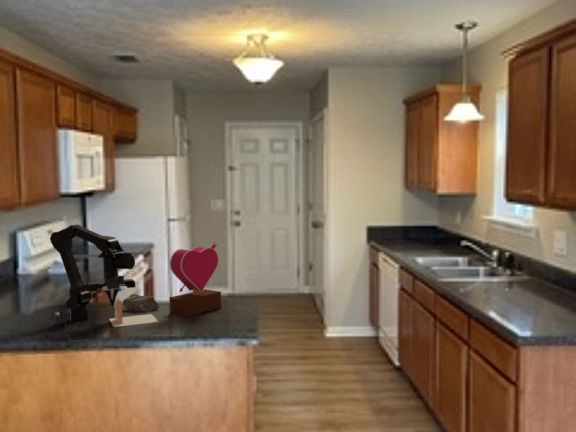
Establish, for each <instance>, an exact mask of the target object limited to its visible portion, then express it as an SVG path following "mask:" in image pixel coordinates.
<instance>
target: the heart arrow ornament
mask: <svg viewBox="0 0 576 432" xmlns="http://www.w3.org/2000/svg"><path fill="white" fill-rule="evenodd" d="M217 246H218V244H216V242H213V244H212V245H211V247H204V246H203V247H202V246H195V247H193V248H191V249H190V250H189V249H182V248H179V249H176V250H175V251H173V253H172V255H171V257H170V259H169V267H170V271H171V272H172V274H173V276H175V277H176V278H177V279H178V281H180V282H181V283H182V284H183V286H182V287H180V289H179V294H178V295H174V296H169V297H168V299H169V314H170V315H171V316H177V317H182V318H188V317H192V316H193V317H194V316H196V314H197V315H200V314H199V313H201V314H203V313H202V312H205V313H207V312H206V311H208V312H211V311H210V310H212V311H214V310H213V309H216V310H219V309H218V308H220V309H222V308H223V307H222V295H221V294H222V292H221V291H218V290H212V289H208V288H207V289H205V288H206V286H207V284H208V283H209V281H210V280H211V278H212V276H213V275H214V273H215V272H216V270H217V267H218V265H219V256H218V255H219V254H218V252H217V251H216V247H217ZM185 287H186V288H187V289H188V291H190V292H188V293H183V294H180V293H181V292H183V291H184V288H185Z"/></svg>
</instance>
